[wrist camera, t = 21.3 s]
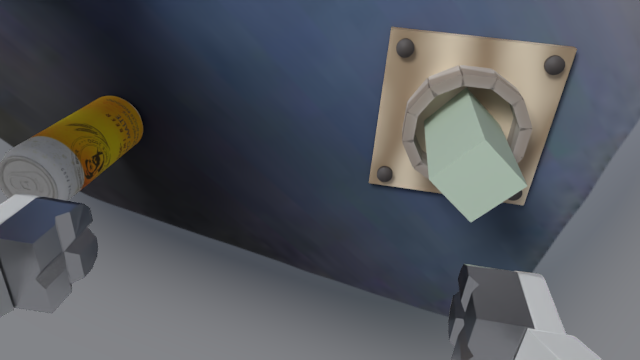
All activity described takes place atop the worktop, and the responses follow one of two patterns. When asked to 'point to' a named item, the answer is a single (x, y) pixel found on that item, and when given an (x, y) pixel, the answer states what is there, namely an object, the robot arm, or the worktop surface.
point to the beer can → (72, 150)
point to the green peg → (470, 157)
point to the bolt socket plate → (450, 79)
